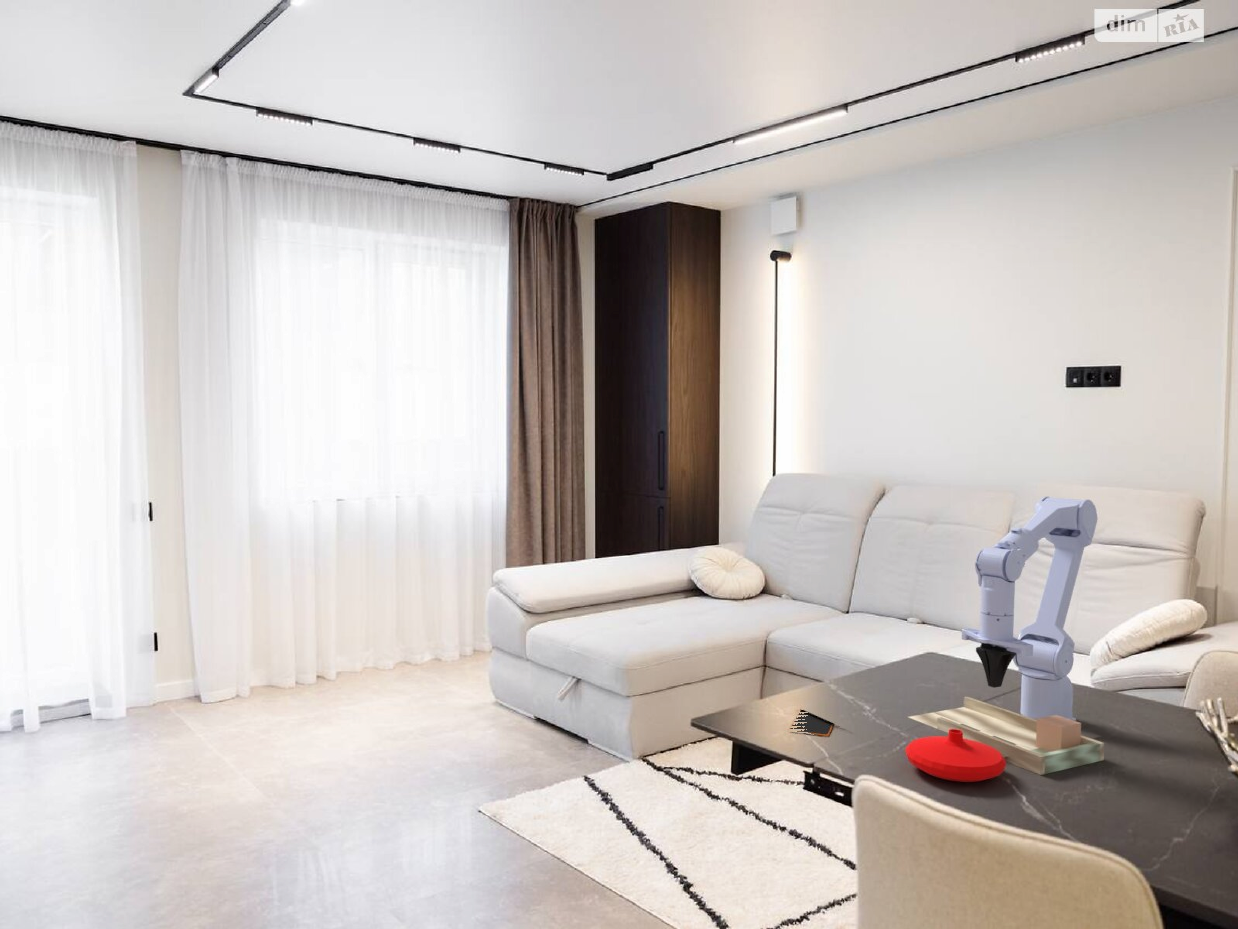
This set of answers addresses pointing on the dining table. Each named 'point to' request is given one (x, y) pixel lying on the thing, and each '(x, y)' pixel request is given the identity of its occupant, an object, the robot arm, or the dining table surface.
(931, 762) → the red disc with nozzle
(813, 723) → the smartphone
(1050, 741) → the peach block
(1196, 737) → the dining table surface
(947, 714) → the tray
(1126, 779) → the dining table surface
